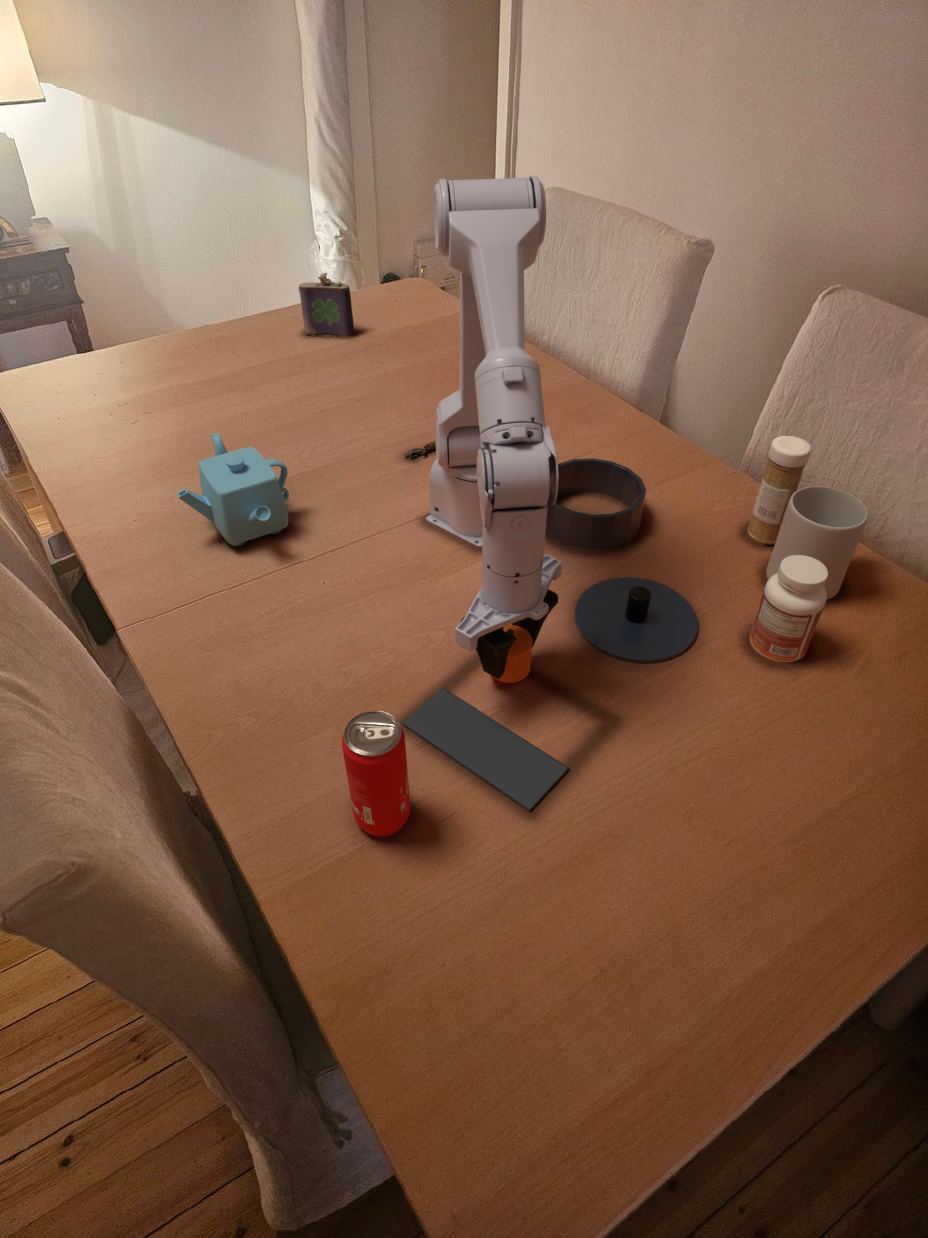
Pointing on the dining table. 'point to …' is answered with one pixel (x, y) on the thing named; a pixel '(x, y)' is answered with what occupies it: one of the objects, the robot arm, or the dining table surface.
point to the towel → (486, 748)
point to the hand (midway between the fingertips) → (507, 659)
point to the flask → (326, 308)
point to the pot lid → (636, 620)
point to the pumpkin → (517, 655)
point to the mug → (821, 531)
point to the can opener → (421, 449)
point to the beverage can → (377, 772)
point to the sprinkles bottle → (778, 486)
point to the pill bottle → (790, 609)
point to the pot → (600, 527)
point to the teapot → (240, 493)
